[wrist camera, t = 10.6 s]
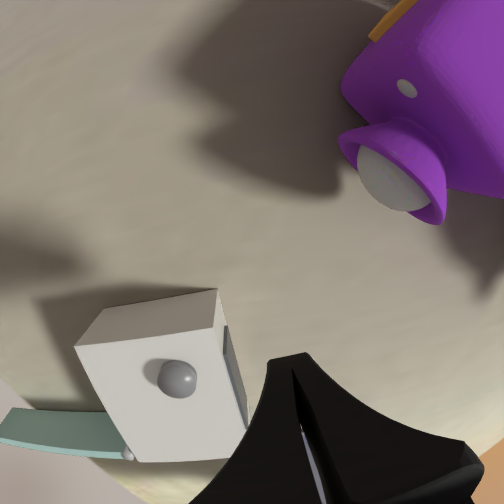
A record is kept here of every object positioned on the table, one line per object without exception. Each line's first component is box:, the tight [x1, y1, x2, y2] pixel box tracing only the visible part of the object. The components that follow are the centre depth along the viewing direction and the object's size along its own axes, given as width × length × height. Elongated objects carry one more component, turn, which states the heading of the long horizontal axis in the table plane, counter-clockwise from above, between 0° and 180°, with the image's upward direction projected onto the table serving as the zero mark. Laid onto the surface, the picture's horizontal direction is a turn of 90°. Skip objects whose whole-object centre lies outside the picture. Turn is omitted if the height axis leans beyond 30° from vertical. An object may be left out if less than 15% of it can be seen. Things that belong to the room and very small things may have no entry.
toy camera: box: [338, 0, 504, 225], centre depth 13 cm, size 11×14×10 cm
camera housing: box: [74, 289, 250, 462], centre depth 19 cm, size 11×8×6 cm
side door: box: [0, 408, 135, 461], centre depth 20 cm, size 15×1×5 cm, turn 100°
